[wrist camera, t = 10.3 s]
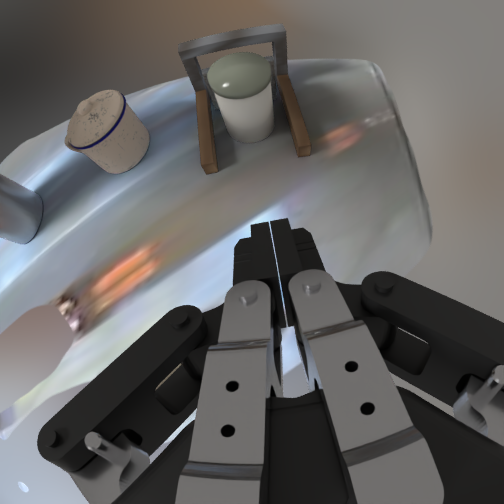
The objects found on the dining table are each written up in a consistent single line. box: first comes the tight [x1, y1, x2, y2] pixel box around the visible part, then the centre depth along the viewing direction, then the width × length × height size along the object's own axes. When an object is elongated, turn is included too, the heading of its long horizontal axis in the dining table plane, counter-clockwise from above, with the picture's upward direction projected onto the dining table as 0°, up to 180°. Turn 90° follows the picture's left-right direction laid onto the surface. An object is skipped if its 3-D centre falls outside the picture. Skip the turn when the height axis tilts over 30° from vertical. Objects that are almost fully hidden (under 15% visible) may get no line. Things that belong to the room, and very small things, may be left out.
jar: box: [207, 52, 275, 143], centre depth 31 cm, size 7×7×10 cm
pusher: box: [202, 56, 277, 111], centre depth 33 cm, size 9×6×8 cm, turn 99°
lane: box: [178, 24, 311, 174], centre depth 30 cm, size 13×14×10 cm
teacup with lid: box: [65, 90, 149, 174], centre depth 32 cm, size 12×9×12 cm
